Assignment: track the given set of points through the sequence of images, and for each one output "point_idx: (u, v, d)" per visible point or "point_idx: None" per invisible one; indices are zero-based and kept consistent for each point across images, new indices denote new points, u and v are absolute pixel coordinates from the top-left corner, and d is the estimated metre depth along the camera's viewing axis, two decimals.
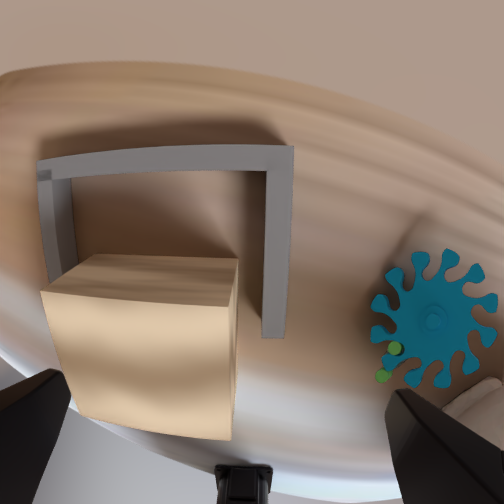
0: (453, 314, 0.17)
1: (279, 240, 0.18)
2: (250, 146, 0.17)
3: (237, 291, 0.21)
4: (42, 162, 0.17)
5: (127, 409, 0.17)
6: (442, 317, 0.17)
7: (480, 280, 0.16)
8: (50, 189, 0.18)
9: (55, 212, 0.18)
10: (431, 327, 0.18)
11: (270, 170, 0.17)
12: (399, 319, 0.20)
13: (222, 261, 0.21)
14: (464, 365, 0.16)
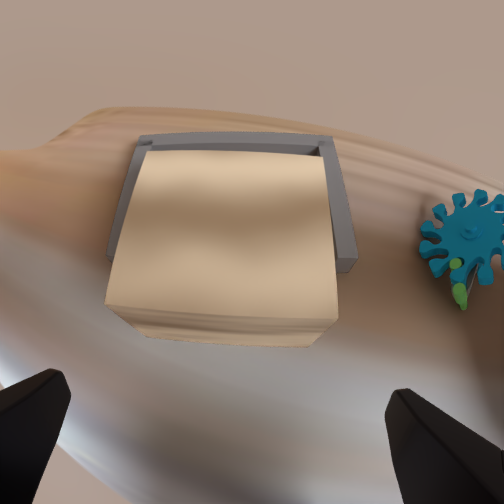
0: (481, 219, 0.20)
1: (335, 181, 0.23)
2: (306, 134, 0.26)
3: None
4: (145, 136, 0.25)
5: (196, 272, 0.14)
6: (475, 223, 0.20)
7: (484, 194, 0.21)
8: (148, 150, 0.25)
9: None
10: (472, 228, 0.20)
11: (320, 145, 0.25)
12: (446, 245, 0.21)
13: None
14: None
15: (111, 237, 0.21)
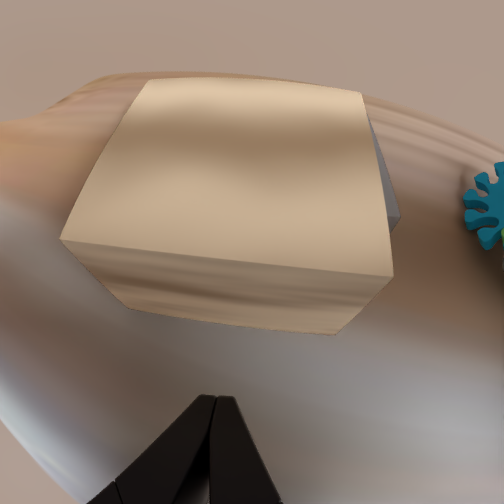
0: None
1: None
2: None
3: None
4: None
5: (187, 200, 0.10)
6: None
7: None
8: None
9: None
10: None
11: None
12: (494, 213, 0.16)
13: None
14: None
15: None
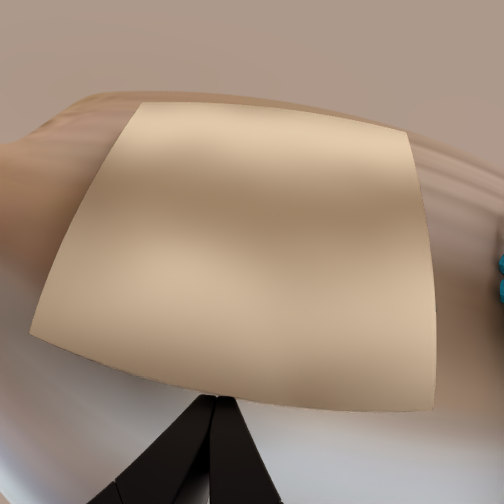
0: None
1: None
2: None
3: None
4: None
5: (181, 303, 0.07)
6: None
7: None
8: None
9: None
10: None
11: None
12: None
13: None
14: None
15: None
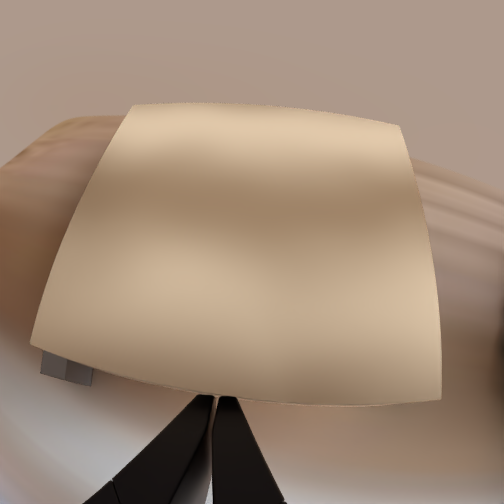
0: None
1: None
2: None
3: None
4: None
5: (184, 305, 0.07)
6: None
7: None
8: None
9: None
10: None
11: None
12: None
13: None
14: None
15: None
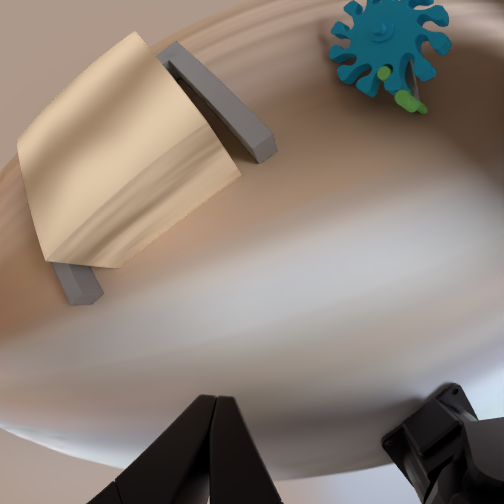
0: (386, 14, 0.14)
1: (204, 78, 0.18)
2: None
3: None
4: None
5: (84, 180, 0.14)
6: (381, 22, 0.15)
7: None
8: None
9: None
10: (380, 29, 0.14)
11: (170, 58, 0.19)
12: (364, 59, 0.17)
13: None
14: (433, 17, 0.12)
15: (63, 287, 0.19)
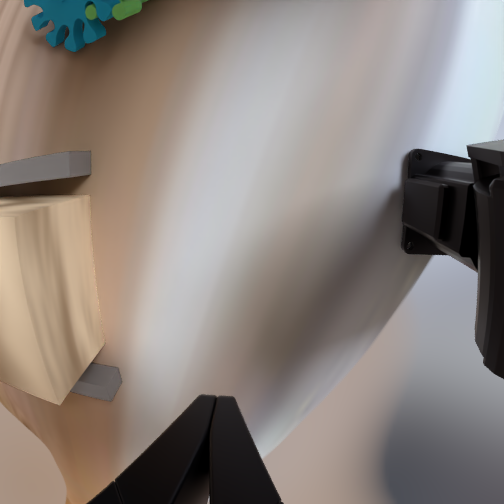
0: None
1: None
2: None
3: (6, 197, 0.17)
4: None
5: (13, 337, 0.12)
6: None
7: None
8: None
9: None
10: None
11: None
12: (71, 20, 0.12)
13: None
14: None
15: (94, 396, 0.19)
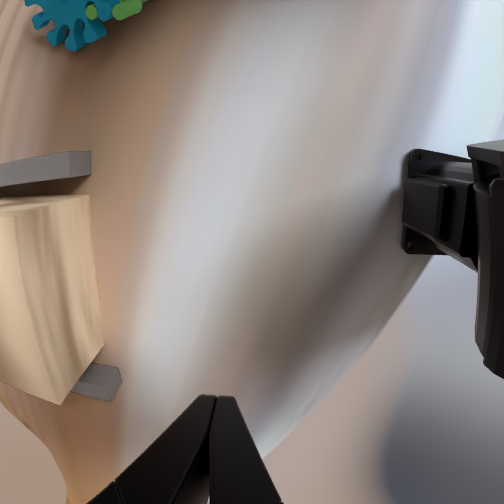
0: None
1: None
2: None
3: (6, 197, 0.17)
4: None
5: (14, 337, 0.12)
6: None
7: None
8: None
9: None
10: None
11: None
12: (71, 20, 0.12)
13: None
14: None
15: (94, 396, 0.19)
